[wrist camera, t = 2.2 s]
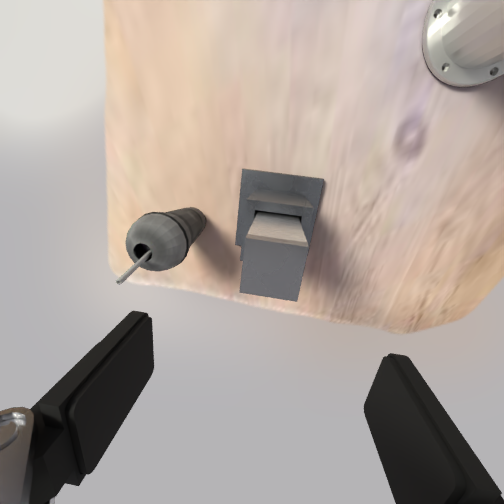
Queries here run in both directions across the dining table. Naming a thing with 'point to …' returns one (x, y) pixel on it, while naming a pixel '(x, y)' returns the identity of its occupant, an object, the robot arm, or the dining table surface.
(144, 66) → the dining table surface
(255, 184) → the stand
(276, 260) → the column
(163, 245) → the beverage cup
